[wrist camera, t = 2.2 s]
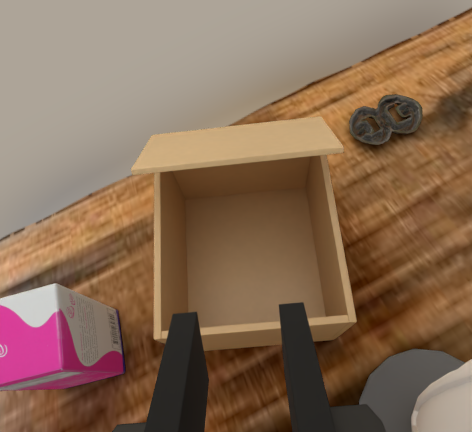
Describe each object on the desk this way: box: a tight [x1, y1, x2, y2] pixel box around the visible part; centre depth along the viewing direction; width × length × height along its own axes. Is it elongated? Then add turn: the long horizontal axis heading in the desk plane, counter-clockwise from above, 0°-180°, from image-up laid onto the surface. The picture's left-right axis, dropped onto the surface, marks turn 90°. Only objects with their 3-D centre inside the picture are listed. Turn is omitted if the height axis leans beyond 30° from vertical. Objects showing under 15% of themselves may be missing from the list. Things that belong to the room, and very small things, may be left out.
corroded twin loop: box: [349, 94, 422, 145], centre depth 43 cm, size 5×8×1 cm, turn 114°
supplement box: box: [0, 283, 125, 391], centre depth 32 cm, size 6×6×12 cm
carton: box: [154, 155, 357, 351], centre depth 34 cm, size 15×13×10 cm
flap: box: [131, 116, 344, 175], centre depth 29 cm, size 7×13×1 cm
